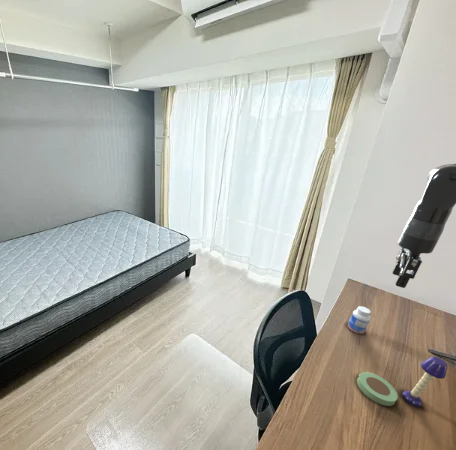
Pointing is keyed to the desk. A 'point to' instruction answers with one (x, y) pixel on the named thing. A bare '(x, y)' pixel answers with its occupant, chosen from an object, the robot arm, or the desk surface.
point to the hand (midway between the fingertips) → (398, 280)
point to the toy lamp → (426, 379)
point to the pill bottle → (359, 320)
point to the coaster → (377, 389)
